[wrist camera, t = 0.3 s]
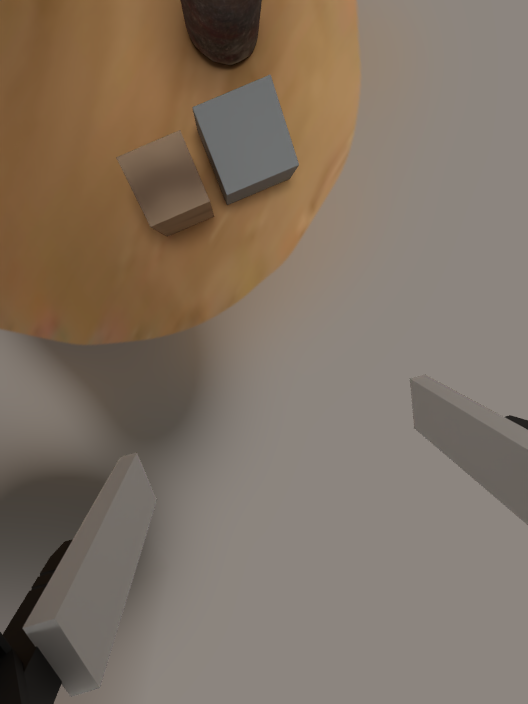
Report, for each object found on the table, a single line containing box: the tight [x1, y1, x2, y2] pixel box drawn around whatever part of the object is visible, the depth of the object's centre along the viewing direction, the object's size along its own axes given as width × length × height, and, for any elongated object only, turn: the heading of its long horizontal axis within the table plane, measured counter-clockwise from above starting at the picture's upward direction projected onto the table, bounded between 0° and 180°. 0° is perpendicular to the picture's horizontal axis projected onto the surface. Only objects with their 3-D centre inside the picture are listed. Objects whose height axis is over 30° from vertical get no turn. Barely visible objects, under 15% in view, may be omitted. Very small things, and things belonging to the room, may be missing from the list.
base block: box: [192, 75, 299, 205], centre depth 31 cm, size 8×8×5 cm
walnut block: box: [116, 130, 214, 236], centre depth 30 cm, size 6×6×8 cm
